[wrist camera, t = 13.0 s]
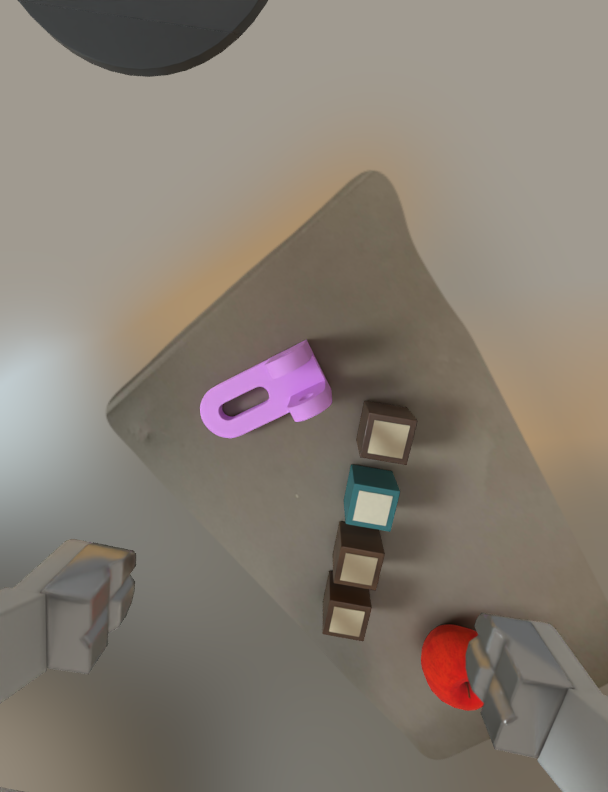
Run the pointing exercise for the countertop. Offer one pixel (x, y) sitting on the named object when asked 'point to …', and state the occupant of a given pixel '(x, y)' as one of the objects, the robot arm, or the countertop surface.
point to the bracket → (270, 392)
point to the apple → (449, 666)
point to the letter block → (371, 498)
